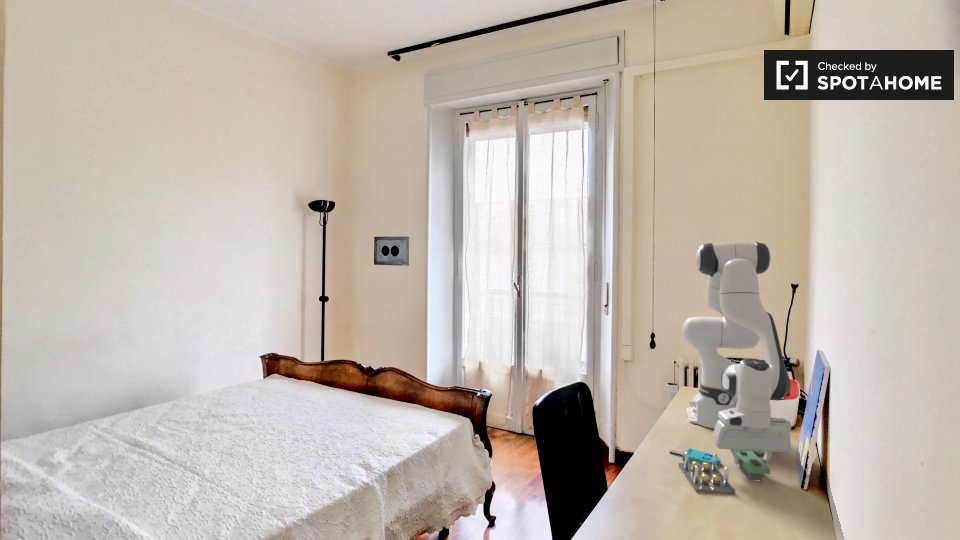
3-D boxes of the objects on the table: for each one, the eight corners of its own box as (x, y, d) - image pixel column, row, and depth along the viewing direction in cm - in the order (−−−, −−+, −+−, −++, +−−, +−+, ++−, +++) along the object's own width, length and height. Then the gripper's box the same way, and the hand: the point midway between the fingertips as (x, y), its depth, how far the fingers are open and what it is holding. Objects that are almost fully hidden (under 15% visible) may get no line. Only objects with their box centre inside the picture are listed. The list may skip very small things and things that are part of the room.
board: (732, 454, 156) (732, 448, 156) (751, 455, 156) (752, 449, 155) (749, 472, 144) (749, 465, 144) (770, 474, 144) (770, 466, 144)
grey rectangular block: (739, 467, 154) (739, 458, 154) (749, 468, 154) (750, 458, 154) (750, 480, 146) (750, 469, 146) (761, 481, 146) (762, 470, 146)
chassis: (678, 466, 155) (679, 447, 154) (713, 467, 154) (714, 449, 154) (695, 492, 139) (696, 471, 139) (735, 494, 138) (736, 474, 138)
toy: (673, 443, 168) (723, 456, 159) (672, 449, 168) (722, 462, 159) (665, 450, 162) (717, 464, 153) (665, 456, 162) (716, 470, 153)
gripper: (785, 415, 151) (783, 461, 152) (712, 411, 153) (710, 457, 154) (796, 422, 145) (794, 471, 146) (720, 419, 147) (717, 467, 148)
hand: (750, 464), depth 150 cm, fingers open, 6 cm apart
